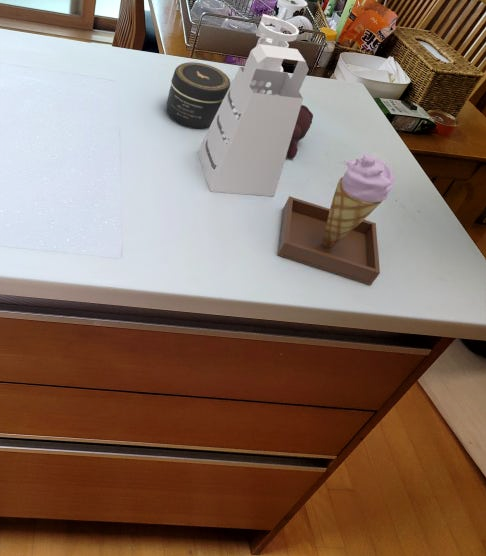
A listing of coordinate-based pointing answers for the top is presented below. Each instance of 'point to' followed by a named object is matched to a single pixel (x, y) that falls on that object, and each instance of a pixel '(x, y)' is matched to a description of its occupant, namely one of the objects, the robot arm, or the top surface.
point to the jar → (196, 94)
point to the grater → (254, 126)
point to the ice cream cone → (357, 196)
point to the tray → (339, 258)
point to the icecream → (300, 129)
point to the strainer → (273, 43)
